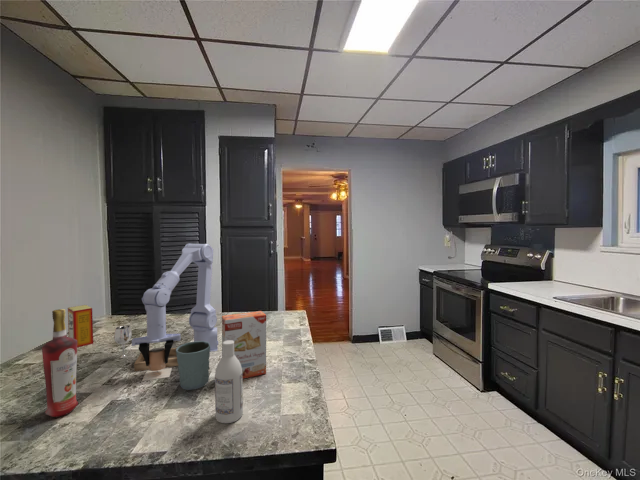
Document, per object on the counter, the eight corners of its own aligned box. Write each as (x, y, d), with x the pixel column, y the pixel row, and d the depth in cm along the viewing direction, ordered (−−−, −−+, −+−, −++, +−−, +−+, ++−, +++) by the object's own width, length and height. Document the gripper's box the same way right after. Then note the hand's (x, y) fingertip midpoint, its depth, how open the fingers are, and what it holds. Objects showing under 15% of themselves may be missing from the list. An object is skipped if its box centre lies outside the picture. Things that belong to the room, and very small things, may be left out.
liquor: (69, 402, 88) (66, 305, 87) (85, 407, 85) (82, 308, 84) (38, 416, 81) (34, 312, 80) (54, 423, 79) (50, 315, 78)
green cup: (217, 378, 102) (216, 342, 102) (195, 393, 92) (194, 354, 92) (192, 373, 105) (192, 339, 105) (169, 388, 96) (168, 350, 95)
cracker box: (225, 384, 98) (224, 319, 97) (221, 376, 104) (221, 315, 103) (267, 374, 105) (266, 314, 104) (262, 367, 110) (261, 309, 109)
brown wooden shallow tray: (184, 354, 121) (184, 346, 121) (181, 366, 111) (181, 357, 111) (141, 360, 116) (141, 351, 116) (134, 372, 106) (134, 363, 106)
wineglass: (123, 361, 115) (122, 330, 115) (110, 360, 116) (110, 329, 116) (135, 355, 121) (135, 325, 120) (123, 354, 122) (122, 324, 121)
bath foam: (233, 405, 86) (232, 335, 86) (248, 415, 82) (247, 341, 81) (210, 417, 81) (209, 342, 80) (225, 428, 76) (224, 349, 76)
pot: (166, 364, 107) (166, 346, 107) (164, 369, 103) (164, 350, 103) (150, 366, 105) (150, 348, 106) (147, 371, 101) (147, 352, 101)
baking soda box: (68, 342, 134) (67, 306, 134) (86, 338, 139) (85, 304, 139) (74, 348, 128) (73, 310, 128) (93, 343, 133) (92, 307, 133)
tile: (172, 369, 108) (171, 367, 108) (169, 378, 102) (169, 376, 102) (146, 372, 106) (146, 371, 106) (142, 382, 99) (141, 380, 99)
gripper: (128, 329, 97) (129, 372, 98) (178, 325, 102) (179, 365, 102) (134, 323, 104) (135, 362, 104) (180, 319, 109) (181, 357, 109)
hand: (157, 363), depth 104 cm, fingers closed on pot, 5 cm apart
